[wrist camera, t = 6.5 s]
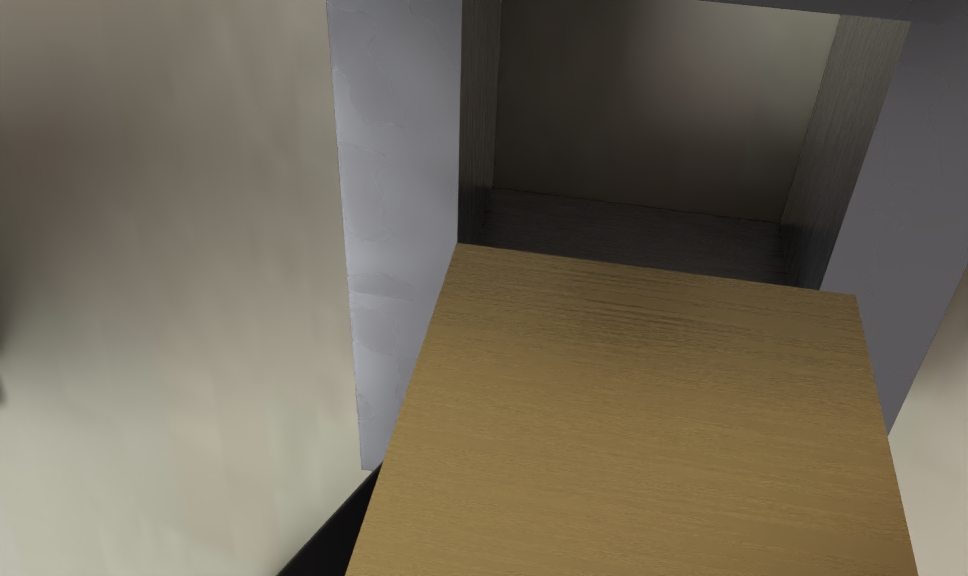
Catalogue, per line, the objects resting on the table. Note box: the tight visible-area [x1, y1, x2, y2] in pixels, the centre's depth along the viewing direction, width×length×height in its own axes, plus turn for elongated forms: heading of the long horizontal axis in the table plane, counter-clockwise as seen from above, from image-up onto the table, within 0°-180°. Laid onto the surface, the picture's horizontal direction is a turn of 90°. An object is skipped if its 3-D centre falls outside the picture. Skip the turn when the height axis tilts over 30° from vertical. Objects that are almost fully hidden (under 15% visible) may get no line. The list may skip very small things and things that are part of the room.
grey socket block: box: [326, 0, 968, 471], centre depth 16 cm, size 10×16×4 cm, turn 179°
